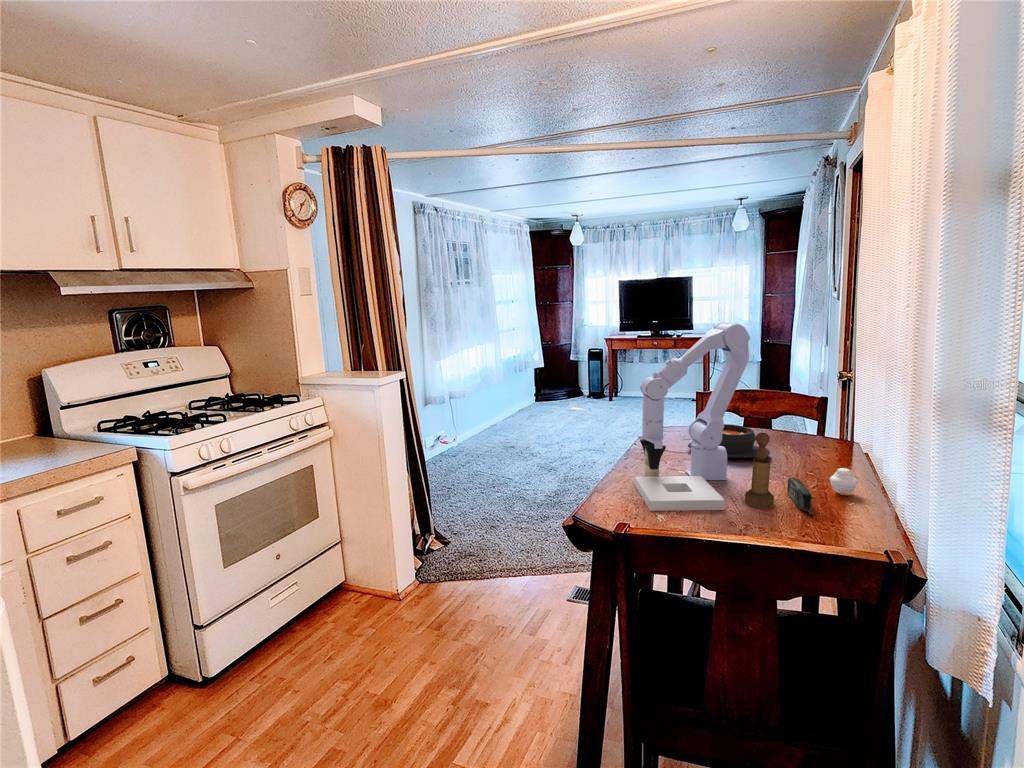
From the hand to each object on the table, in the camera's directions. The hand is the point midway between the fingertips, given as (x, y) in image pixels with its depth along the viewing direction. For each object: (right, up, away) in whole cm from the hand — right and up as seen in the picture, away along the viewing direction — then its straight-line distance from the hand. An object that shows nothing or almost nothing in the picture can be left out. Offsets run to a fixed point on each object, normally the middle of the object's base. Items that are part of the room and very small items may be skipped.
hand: (651, 466), depth 158 cm
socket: (+3, -6, -14) cm, 16 cm away
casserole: (+30, 0, +23) cm, 38 cm away
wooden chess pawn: (+22, -6, -20) cm, 30 cm away
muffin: (+46, -5, -14) cm, 48 cm away
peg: (0, -3, +1) cm, 3 cm away
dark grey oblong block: (+31, -7, -20) cm, 38 cm away
